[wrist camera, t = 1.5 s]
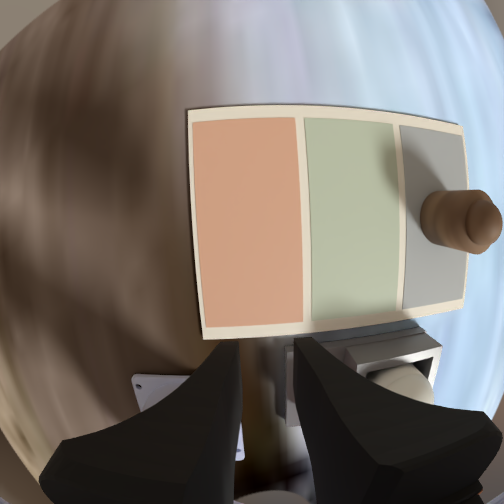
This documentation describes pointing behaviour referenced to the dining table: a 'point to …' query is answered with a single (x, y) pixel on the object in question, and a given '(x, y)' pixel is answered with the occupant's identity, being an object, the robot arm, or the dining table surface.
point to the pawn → (461, 220)
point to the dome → (404, 382)
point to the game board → (319, 218)
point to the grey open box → (372, 358)
